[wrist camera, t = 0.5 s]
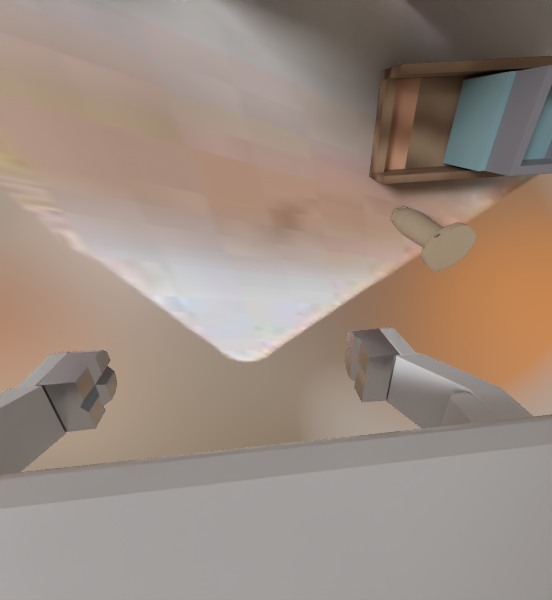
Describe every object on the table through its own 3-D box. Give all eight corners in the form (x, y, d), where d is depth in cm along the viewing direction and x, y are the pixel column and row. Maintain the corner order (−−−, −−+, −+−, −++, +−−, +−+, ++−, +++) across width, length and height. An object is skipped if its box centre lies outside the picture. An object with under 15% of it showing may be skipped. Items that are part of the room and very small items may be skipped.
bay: (381, 71, 37) (402, 64, 32) (541, 62, 38) (585, 54, 33) (369, 176, 44) (384, 184, 39) (504, 167, 45) (535, 173, 40)
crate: (463, 80, 37) (541, 65, 27) (536, 75, 38) (639, 60, 28) (443, 163, 43) (501, 176, 33) (506, 158, 43) (584, 170, 33)
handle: (422, 209, 48) (482, 242, 35) (391, 237, 50) (438, 277, 38) (406, 190, 46) (464, 217, 33) (375, 220, 48) (418, 256, 36)
